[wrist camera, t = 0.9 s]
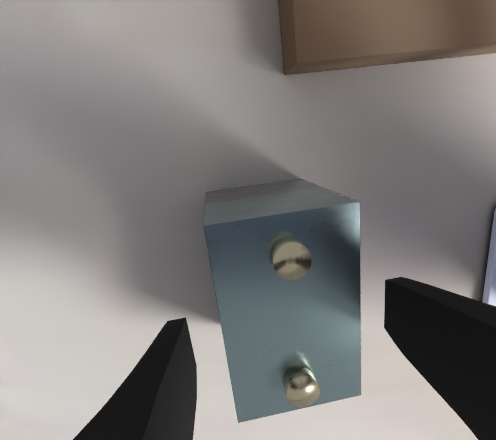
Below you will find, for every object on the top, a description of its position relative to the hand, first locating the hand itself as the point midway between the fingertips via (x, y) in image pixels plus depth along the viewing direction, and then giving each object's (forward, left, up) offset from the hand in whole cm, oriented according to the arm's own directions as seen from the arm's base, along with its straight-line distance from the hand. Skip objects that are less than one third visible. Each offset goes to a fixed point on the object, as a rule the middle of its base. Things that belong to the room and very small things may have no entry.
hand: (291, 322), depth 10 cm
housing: (0, 0, -6) cm, 6 cm away
